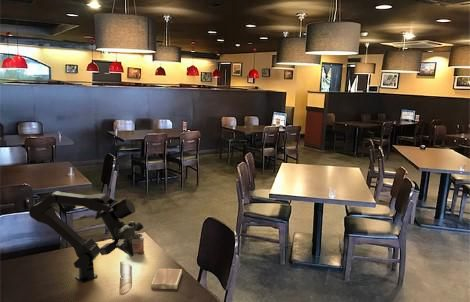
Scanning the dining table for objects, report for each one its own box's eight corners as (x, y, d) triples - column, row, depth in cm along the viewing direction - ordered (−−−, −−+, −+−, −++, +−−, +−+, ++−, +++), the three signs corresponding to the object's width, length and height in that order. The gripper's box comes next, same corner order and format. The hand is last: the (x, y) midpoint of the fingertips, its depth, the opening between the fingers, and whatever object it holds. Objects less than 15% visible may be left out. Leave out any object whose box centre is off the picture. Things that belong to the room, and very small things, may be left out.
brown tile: (151, 283, 144) (176, 284, 144) (158, 268, 156) (181, 269, 156) (151, 289, 144) (176, 290, 144) (158, 273, 156) (181, 274, 156)
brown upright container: (126, 253, 173) (126, 233, 172) (130, 250, 177) (129, 230, 175) (142, 255, 172) (141, 235, 170) (145, 252, 175) (145, 232, 173)
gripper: (103, 234, 134) (124, 269, 136) (140, 208, 148) (159, 240, 150) (90, 237, 142) (110, 271, 144) (127, 212, 155) (145, 243, 157)
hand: (132, 256), depth 148 cm, fingers closed
